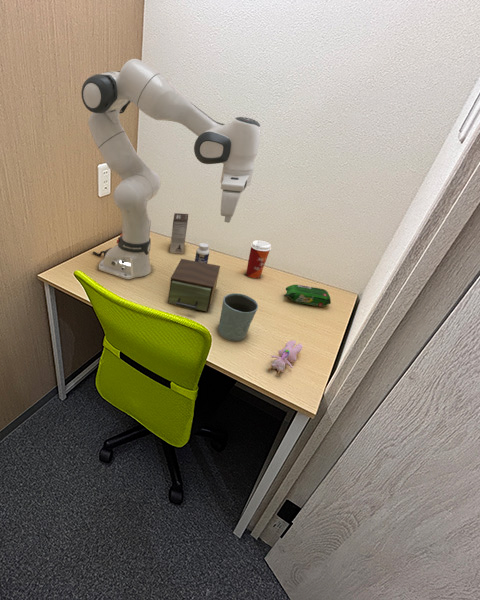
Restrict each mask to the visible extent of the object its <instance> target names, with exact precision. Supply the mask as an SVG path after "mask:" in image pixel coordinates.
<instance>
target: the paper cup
mask: <svg viewBox="0 0 480 600" xmlns="http://www.w3.org/2000/svg"><path fill="white" fill-rule="evenodd" d="M271 250H272V244H271V243H270V242H268V241H265V240H260V239H259V240H258V239H257V240H256V239H255V240H253V241H252V243H250V250H249V256H248V261H247V265H246V266H247V267H246V273H245V274H246V276H247V277H248V278H252V279H258V278H260V277H261V275H262V273H263V270H264V268H265V265H266V263H267V259H268V257H269V254H270V251H271Z"/></svg>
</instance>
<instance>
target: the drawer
mask: <svg viewBox="0 0 480 600" xmlns="http://www.w3.org/2000/svg"><path fill="white" fill-rule="evenodd" d="M169 289H170V288H169ZM210 292H211V288H208V287H203V286H196V285H192V284H187V283H184V282H179V281H172V282H171V289H170V297H169V296H168V297H169V303H168V304H171V303H172V305H175V307H180V308H184V309H187V310H188V309H189V310H193V311H197V309H198V311H201V312H206V311H207V307H208V302H209V297H210Z"/></svg>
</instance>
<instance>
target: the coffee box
mask: <svg viewBox="0 0 480 600" xmlns="http://www.w3.org/2000/svg"><path fill="white" fill-rule="evenodd" d="M172 220H173V221H172V229H171V237H170V248H169V253H171V254H178V255H179V254H180V255H182V254H184V249H185V244H186V236H187V229H188V223H189V213H181V212H180V213H176V212H174V213H173V219H172Z"/></svg>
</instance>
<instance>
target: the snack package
mask: <svg viewBox="0 0 480 600" xmlns="http://www.w3.org/2000/svg"><path fill="white" fill-rule="evenodd" d="M285 291H286V293H285V294H284V297H288V298H289V299H290V300H291V301H293V302H294V303H299V304H303V305H309V306H315V307H326V306H329V305H332V304H331V303H332V300H331V296H330V293H329V292H328V291H327V290H326V289H324V288H321V287H313V286H307V285H304V284H303V285H302V284H291V285H288V286H286V287H285Z"/></svg>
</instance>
